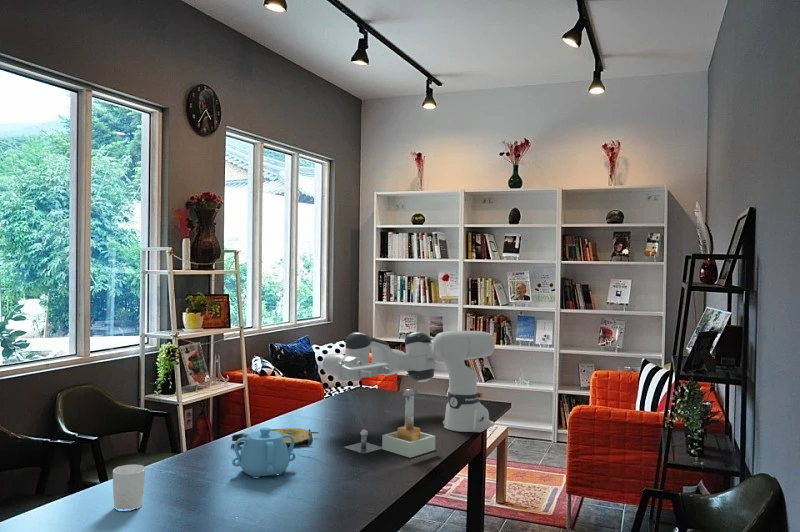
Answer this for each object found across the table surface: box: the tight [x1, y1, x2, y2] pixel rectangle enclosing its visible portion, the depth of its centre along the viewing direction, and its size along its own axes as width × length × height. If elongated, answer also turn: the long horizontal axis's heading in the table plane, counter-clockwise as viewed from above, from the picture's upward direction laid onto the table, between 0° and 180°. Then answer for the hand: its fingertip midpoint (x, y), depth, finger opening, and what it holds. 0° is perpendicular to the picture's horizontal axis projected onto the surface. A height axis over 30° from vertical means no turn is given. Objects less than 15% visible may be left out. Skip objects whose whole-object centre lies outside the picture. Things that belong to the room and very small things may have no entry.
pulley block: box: [231, 427, 319, 450], centre depth 227 cm, size 14×6×30 cm
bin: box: [381, 430, 436, 462], centre depth 221 cm, size 13×13×6 cm
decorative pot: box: [231, 427, 297, 478], centre depth 197 cm, size 16×16×14 cm
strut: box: [397, 388, 421, 442], centre depth 221 cm, size 6×6×21 cm
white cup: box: [112, 464, 146, 510], centre depth 167 cm, size 8×8×10 cm
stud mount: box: [343, 428, 383, 455], centre depth 222 cm, size 10×10×8 cm
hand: (380, 373), depth 232 cm, fingers open, 8 cm apart
